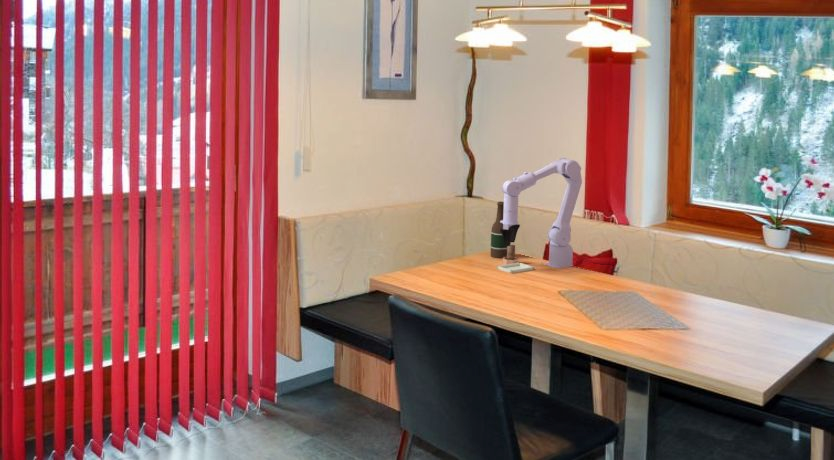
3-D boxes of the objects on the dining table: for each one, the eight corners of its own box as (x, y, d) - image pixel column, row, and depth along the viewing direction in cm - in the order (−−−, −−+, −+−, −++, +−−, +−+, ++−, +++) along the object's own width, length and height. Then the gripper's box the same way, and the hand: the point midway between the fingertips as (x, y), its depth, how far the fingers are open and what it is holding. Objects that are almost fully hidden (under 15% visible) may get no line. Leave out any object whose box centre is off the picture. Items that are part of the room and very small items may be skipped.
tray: (519, 266, 361) (519, 262, 361) (534, 271, 354) (534, 267, 354) (496, 269, 355) (496, 266, 354) (511, 274, 347) (511, 270, 347)
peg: (511, 262, 366) (511, 244, 365) (516, 263, 364) (516, 245, 362) (505, 262, 365) (505, 245, 363) (510, 264, 362) (510, 246, 361)
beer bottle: (506, 255, 380) (509, 200, 376) (509, 259, 373) (512, 203, 368) (489, 255, 380) (491, 200, 375) (491, 259, 372) (493, 203, 368)
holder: (511, 261, 369) (511, 256, 368) (521, 265, 364) (521, 259, 363) (499, 263, 365) (499, 257, 365) (509, 266, 360) (509, 260, 360)
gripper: (505, 207, 361) (504, 239, 363) (496, 212, 347) (495, 246, 350) (522, 208, 358) (521, 241, 361) (513, 214, 345) (512, 248, 347)
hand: (509, 244), depth 355 cm, fingers open, 7 cm apart
